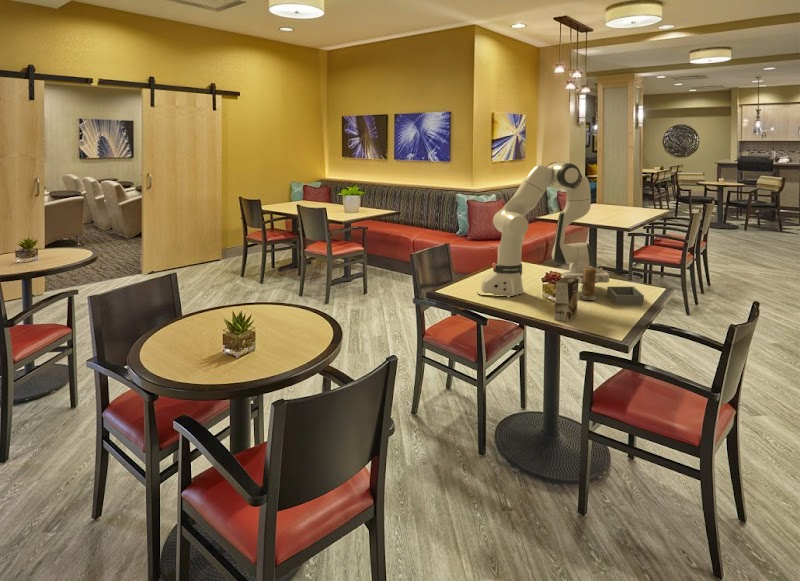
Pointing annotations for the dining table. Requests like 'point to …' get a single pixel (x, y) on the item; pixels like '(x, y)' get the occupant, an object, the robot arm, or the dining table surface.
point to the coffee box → (566, 299)
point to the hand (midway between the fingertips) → (589, 281)
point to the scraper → (588, 284)
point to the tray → (625, 295)
